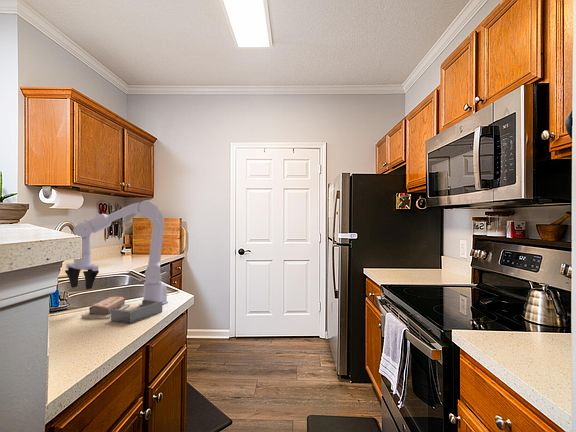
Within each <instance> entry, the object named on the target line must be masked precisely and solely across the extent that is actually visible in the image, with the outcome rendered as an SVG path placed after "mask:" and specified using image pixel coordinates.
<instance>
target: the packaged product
mask: <svg viewBox="0 0 576 432" xmlns="http://www.w3.org/2000/svg"><path fill="white" fill-rule="evenodd" d="M125 300H126V298H125V297H123V296H110V297H107V298H105V299H101V300H100V301H99V302H96V303H94V304H92V305H90V306H89V308H88V311H87V312H85V313H84V314H81V319H95V320H96V319H97V320H98V319H101V320H103V319H105V320H109V319H111V318H110V317H111V310H112V309H119V310H126V309H127V308H129V307H130V306H131V305H130V304H126V303H125ZM125 308H126V309H125Z"/></svg>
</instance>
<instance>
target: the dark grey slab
mask: <svg viewBox="0 0 576 432" xmlns="http://www.w3.org/2000/svg"><path fill="white" fill-rule="evenodd" d="M141 301H142V302H141V303H142V306H141V307H138V308H135V309H131V310H127V309H124V310H119V309H112V310H111V318H110V322H114V323H122V324H127V325H130V324H133V323H136V322H139V321H141V320H143V319H147V318H149V317H151V316H154V315H157V314H159V313H160V314H161V313H162V312H163V304H162V301H153V300H143V299H142V300H141Z"/></svg>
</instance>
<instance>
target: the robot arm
mask: <svg viewBox="0 0 576 432" xmlns="http://www.w3.org/2000/svg"><path fill="white" fill-rule="evenodd" d="M139 213H140V214H142V215H143V217H144V216H145V217H146V218H148V220H149V221H150V222H151V223H152V230H151V238H150V247H149V256H148V263H147V268H146V269H145V271H144V277H145V281H144V282H143V297H142V298H143V299H142V300H153V301H162V305H164V304H167V303H169V301H168V299H167V298H168V297H167V296H168V295H167V294H168V293H167V291H168V287H167V285H166V283H165V282H163V280H162V277H163V276H162V273H161V272H162V271H161V257H162V248H163V240H164V229H165V218H164V216H163V214H162V212H161V211H160V209H159V206H158V205H156V204H155V203H154V202H153V201H152V200H149V199H146V200H145V199H144V200H143V201H141V202H135V203H131V204H129V205H127V206H124V207H122V208H121V209H118V210H116V211H114V212H112V213H109V214H106V213H101V214H100V213H97V214H96V216H95V217H92V218H90V219H84V220H83V221H84V222H79V223H78V224H76V225H75V226H74V227H73V233H74V236H76V235H78V236H81V237H82V258H80V259H74V258H73V262H69V263H66V264H65V270H64V271H65V272H64V273H65V274H66V275H67V277H68V280H69V282H70V283H69V284H70V287H71V289H72V288H77V287H78V285H79V277H80V273H81V271H82V270H84V271H83V272H82V273H83V276H84V281H85V289H86V290H90V289H93V285H94V282H95V280H96V277H97V276H98V274H99V272H100V271H99V265H95V264H92V263H91V257H92V255H91V251H92V249H91V248H92V241H91V235H92V234H95V233H98V232H100V231H103V230H105V229H107V228H110V227H111V225H112V222H115V221H118V220H119V219H122V218H124V217H126V216H129V215H134V214H135V215H138V214H139ZM138 306H141V307H142V302H141V303H138Z"/></svg>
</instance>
